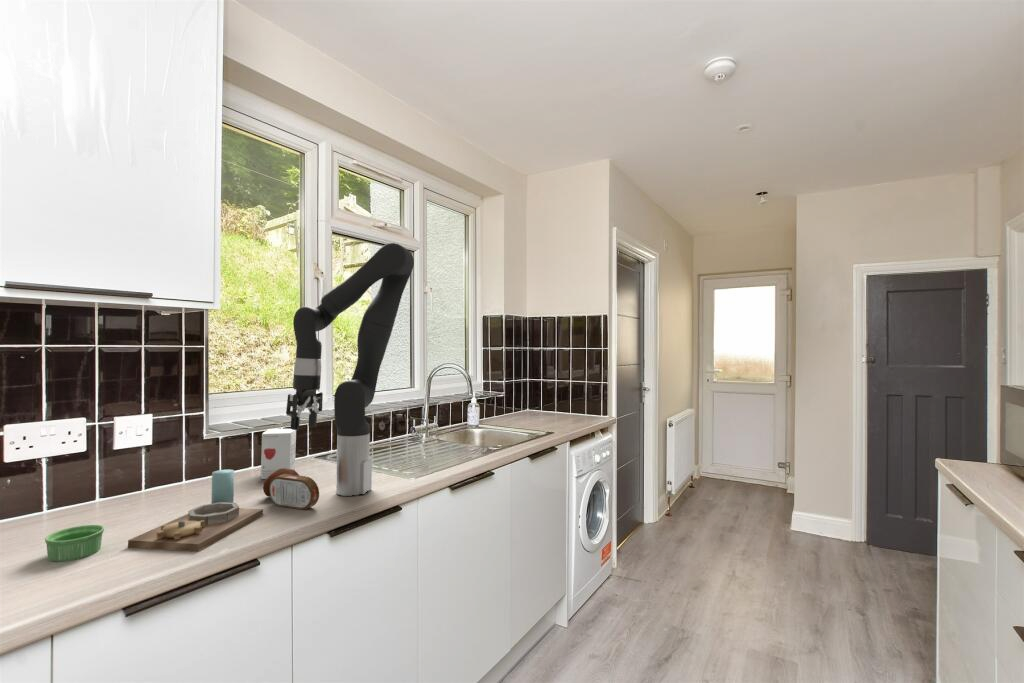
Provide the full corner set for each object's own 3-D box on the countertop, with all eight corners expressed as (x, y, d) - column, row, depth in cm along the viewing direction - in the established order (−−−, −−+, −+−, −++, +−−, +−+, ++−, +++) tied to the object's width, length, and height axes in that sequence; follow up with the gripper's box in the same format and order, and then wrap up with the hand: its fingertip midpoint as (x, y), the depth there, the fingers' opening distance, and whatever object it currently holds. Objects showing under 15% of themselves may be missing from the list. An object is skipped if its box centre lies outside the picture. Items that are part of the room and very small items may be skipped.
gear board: (262, 515, 122) (263, 499, 122) (198, 551, 100) (198, 532, 100) (204, 512, 124) (204, 496, 124) (127, 547, 102) (128, 528, 102)
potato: (309, 492, 142) (309, 465, 142) (276, 503, 132) (276, 474, 132) (290, 488, 145) (291, 462, 145) (256, 499, 135) (257, 471, 135)
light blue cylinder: (237, 505, 130) (238, 469, 130) (224, 511, 125) (225, 474, 125) (220, 504, 130) (220, 469, 130) (206, 510, 125) (207, 473, 125)
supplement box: (259, 480, 154) (260, 433, 155) (267, 472, 163) (267, 428, 163) (290, 478, 156) (291, 432, 157) (295, 471, 165) (296, 428, 165)
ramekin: (35, 567, 93) (35, 544, 93) (57, 549, 101) (57, 528, 101) (93, 559, 96) (94, 537, 96) (110, 542, 105) (110, 522, 105)
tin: (319, 508, 128) (320, 476, 128) (311, 512, 125) (311, 479, 125) (275, 502, 133) (276, 471, 133) (266, 505, 130) (266, 474, 130)
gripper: (304, 374, 136) (300, 432, 136) (331, 374, 150) (328, 426, 150) (280, 373, 138) (276, 430, 137) (310, 372, 152) (306, 424, 151)
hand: (303, 428), depth 143 cm, fingers open, 8 cm apart
